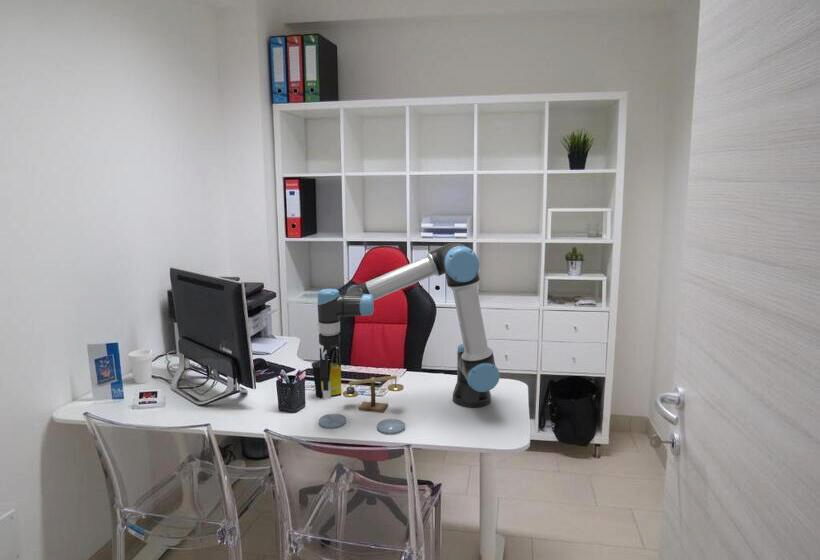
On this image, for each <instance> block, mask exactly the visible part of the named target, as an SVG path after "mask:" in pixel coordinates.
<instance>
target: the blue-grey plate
mask: <svg viewBox="0 0 820 560" xmlns="http://www.w3.org/2000/svg"><path fill="white" fill-rule="evenodd" d="M376 430H377V432H378V433H380V432H381V433H380V434H383V433H385V434H384V435H388V434H393V435H398V434H397V433H399V434H401V433H403V432H404V431H405V430H406V423H405V422H404V421H403V420H400V419H396V418H388V419H383V420H380V421H379V422H377V423H376ZM402 431H403V432H402ZM400 432H401V433H400Z"/></svg>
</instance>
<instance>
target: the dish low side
mask: <svg viewBox="0 0 820 560" xmlns="http://www.w3.org/2000/svg"><path fill="white" fill-rule="evenodd" d="M346 424H347V417H346V416H345V415H343V414H341V413H329V414H324V415H322V416H320V417H319V419H318V425H319V426H320V427H321V428H323V429H326V430H327V429H330V430H331V429H338V428H339V429H340V428H341V427H344V426H345V425H346Z"/></svg>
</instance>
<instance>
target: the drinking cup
mask: <svg viewBox="0 0 820 560" xmlns="http://www.w3.org/2000/svg"><path fill="white" fill-rule="evenodd" d="M320 353H321V354H323V351H322V348H319V354H320ZM311 367H312V374H313V380H314V388H315V389H314V391H315V396H316V397H317V398H319V399H324V398H323V393H322V392H321V381H320V359H319V360H316V361H313V362H312V363H311Z"/></svg>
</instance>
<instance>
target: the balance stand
mask: <svg viewBox="0 0 820 560" xmlns="http://www.w3.org/2000/svg"><path fill="white" fill-rule="evenodd" d="M388 407H389V403H387V402H376V382H375V383H371V382H370V401H362V402H361V404H360V405H359V406H358V408H357V409H358V411H362V412H372V413H383V414H384V413H385V411H386V410H387V408H388Z"/></svg>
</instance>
